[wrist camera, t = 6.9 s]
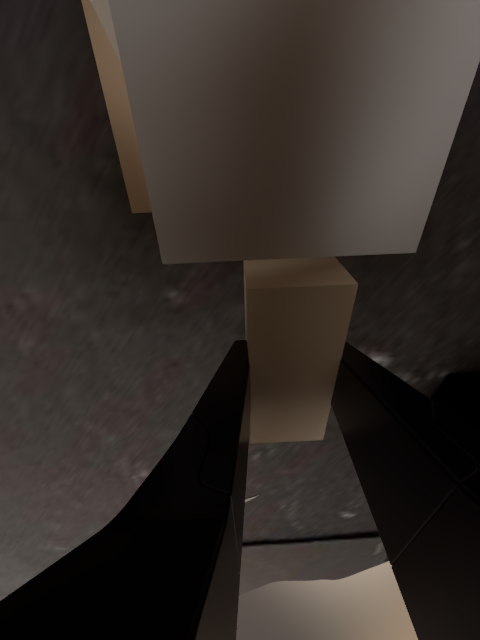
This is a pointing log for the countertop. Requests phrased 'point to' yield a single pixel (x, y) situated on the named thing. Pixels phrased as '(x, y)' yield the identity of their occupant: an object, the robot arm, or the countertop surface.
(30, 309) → the countertop surface
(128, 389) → the countertop surface
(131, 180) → the oak board
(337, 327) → the turner
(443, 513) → the robot arm
